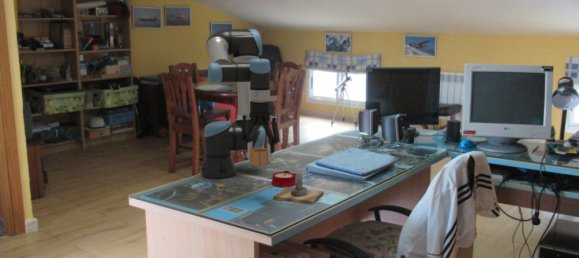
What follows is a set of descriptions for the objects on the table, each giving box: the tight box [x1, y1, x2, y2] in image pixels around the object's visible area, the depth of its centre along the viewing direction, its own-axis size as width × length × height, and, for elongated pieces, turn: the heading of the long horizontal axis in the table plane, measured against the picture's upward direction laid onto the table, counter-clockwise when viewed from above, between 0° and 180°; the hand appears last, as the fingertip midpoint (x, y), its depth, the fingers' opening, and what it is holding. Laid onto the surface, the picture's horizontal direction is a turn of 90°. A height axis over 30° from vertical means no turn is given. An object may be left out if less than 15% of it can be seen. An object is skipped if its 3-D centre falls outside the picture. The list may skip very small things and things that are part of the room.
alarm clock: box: [267, 170, 297, 188], centre depth 243 cm, size 10×6×15 cm
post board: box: [273, 172, 325, 205], centre depth 224 cm, size 16×13×9 cm
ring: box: [248, 147, 272, 167], centre depth 220 cm, size 8×8×5 cm
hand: (260, 159), depth 220 cm, fingers closed on ring, 8 cm apart
